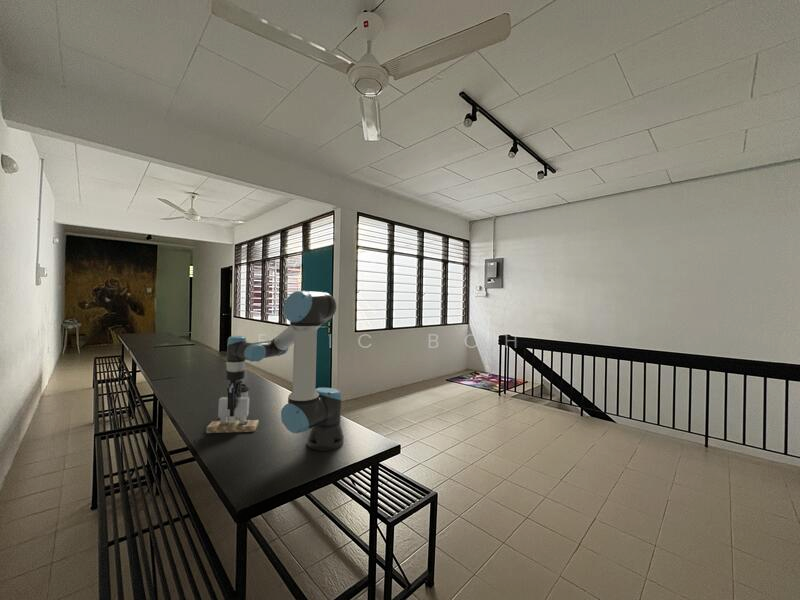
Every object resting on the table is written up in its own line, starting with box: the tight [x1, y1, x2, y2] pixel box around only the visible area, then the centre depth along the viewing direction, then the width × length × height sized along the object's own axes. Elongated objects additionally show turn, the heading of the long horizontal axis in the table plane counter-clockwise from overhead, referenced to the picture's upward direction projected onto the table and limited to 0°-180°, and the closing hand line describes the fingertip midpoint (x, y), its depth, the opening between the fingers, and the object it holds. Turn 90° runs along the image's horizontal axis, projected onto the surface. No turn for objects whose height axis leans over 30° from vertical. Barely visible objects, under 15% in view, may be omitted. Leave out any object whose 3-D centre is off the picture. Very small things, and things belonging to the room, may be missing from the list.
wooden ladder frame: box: [206, 419, 260, 434], centre depth 147 cm, size 20×7×2 cm, turn 101°
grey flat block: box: [217, 396, 250, 426], centre depth 146 cm, size 12×3×12 cm, turn 101°
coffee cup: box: [241, 383, 249, 397], centre depth 163 cm, size 9×9×15 cm
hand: (233, 420), depth 147 cm, fingers closed on grey flat block, 3 cm apart
